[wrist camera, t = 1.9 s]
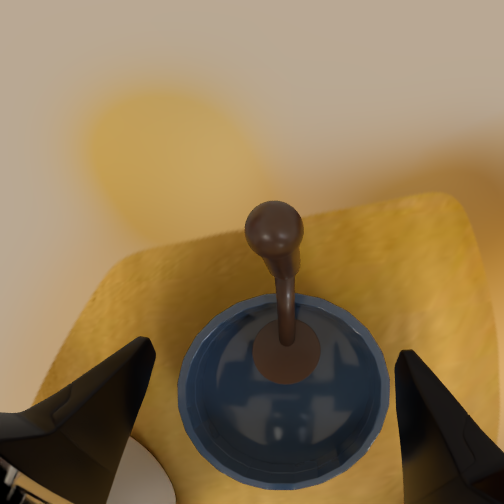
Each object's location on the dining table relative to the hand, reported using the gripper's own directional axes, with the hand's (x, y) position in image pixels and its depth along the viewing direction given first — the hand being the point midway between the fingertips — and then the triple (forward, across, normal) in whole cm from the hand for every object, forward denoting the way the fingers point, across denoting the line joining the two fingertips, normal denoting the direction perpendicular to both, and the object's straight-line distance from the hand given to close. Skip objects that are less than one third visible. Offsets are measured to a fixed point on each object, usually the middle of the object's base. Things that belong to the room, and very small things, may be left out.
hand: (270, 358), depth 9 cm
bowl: (+6, 0, +10) cm, 12 cm away
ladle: (+8, 0, +6) cm, 11 cm away
